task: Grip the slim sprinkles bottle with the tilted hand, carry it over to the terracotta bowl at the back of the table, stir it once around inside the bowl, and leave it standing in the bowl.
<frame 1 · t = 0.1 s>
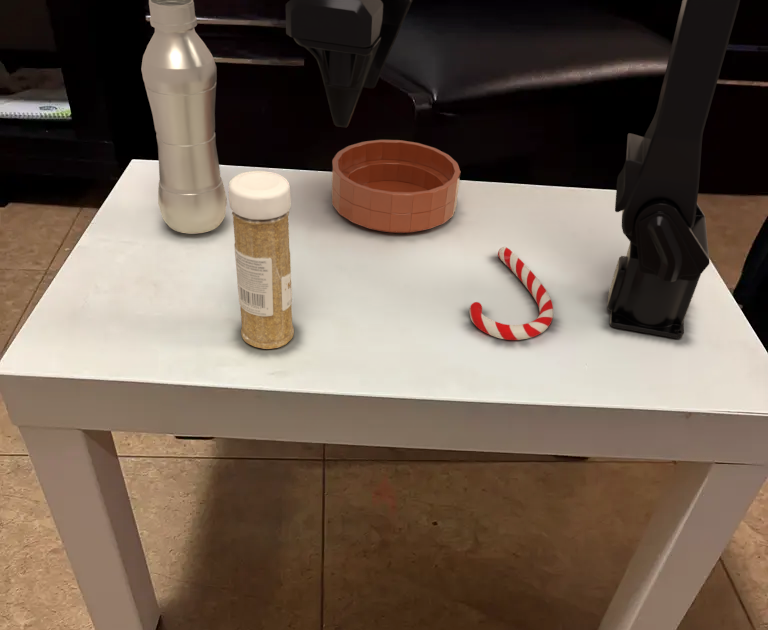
hand: (355, 105, 69), 15 cm above the table, tool pointing down, fingers open, 9 cm apart
candy cane: (505, 298, 77), on the table
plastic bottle: (195, 228, 83), on the table
sprinkles bottle: (267, 337, 71), on the table
bowl: (393, 207, 88), on the table
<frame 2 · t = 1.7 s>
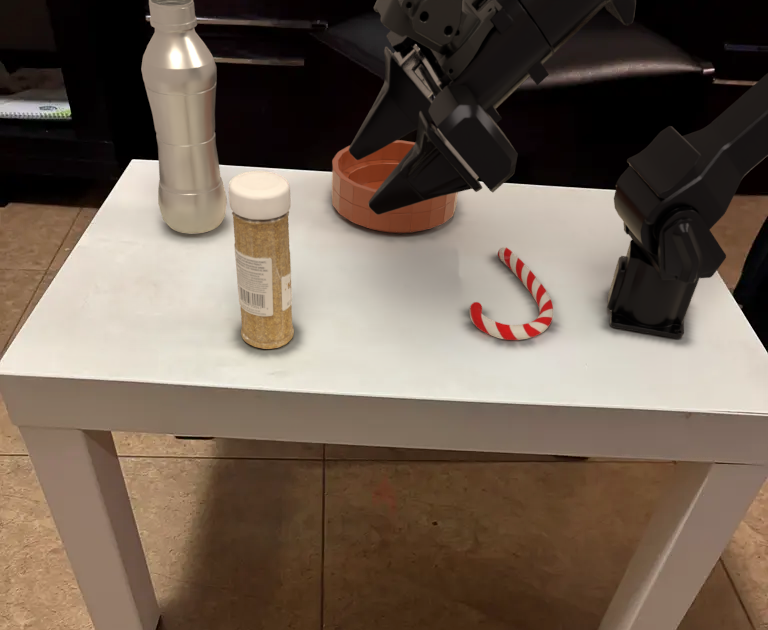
hand: (361, 181, 62), 13 cm above the table, tool tilted 45°, fingers open, 9 cm apart
nothing on the table moved.
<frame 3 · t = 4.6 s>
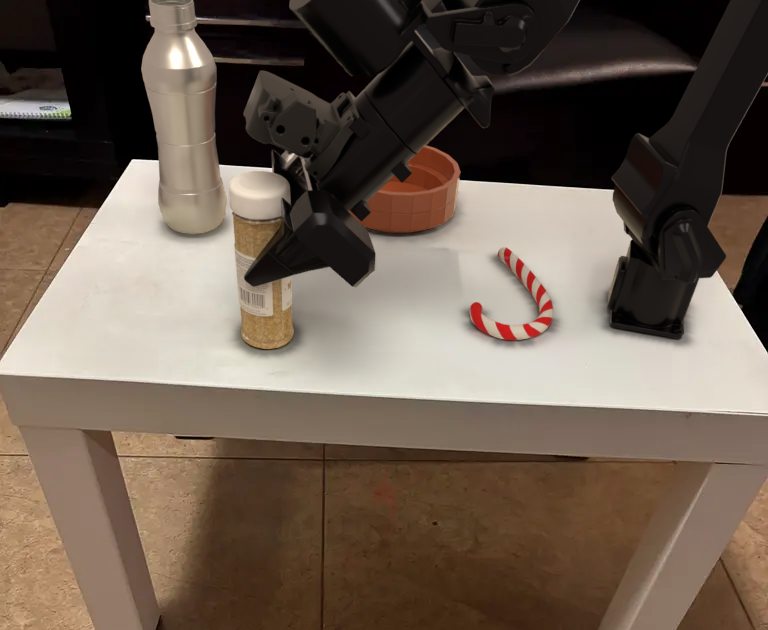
hand: (246, 266, 66), 7 cm above the table, tool tilted 45°, fingers closed on sprinkles bottle, 4 cm apart
sprinkles bottle: (267, 337, 71), on the table, touching gripper
everything else where it was.
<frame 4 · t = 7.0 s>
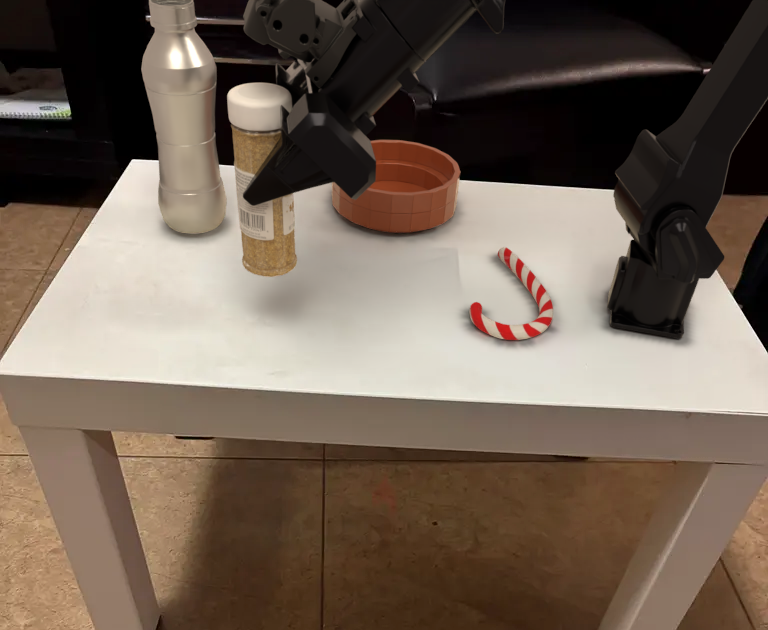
hand: (246, 186, 63), 12 cm above the table, tool tilted 45°, fingers closed on sprinkles bottle, 4 cm apart
sprinkles bottle: (269, 267, 68), point 5 cm above the table, touching gripper
everything else where it was.
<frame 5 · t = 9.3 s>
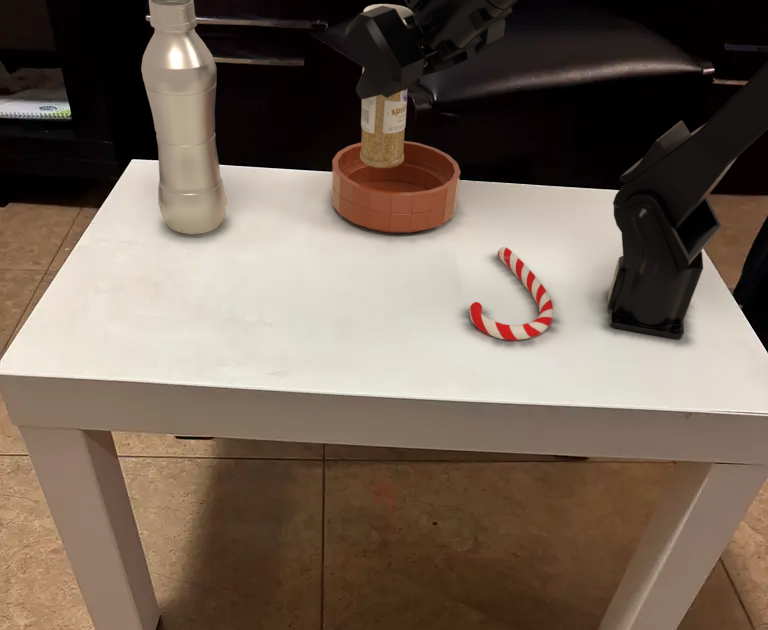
hand: (373, 87, 79), 12 cm above the table, tool tilted 45°, fingers closed on sprinkles bottle, 4 cm apart
sprinkles bottle: (381, 162, 83), point 5 cm above the table, touching gripper
everything else where it was.
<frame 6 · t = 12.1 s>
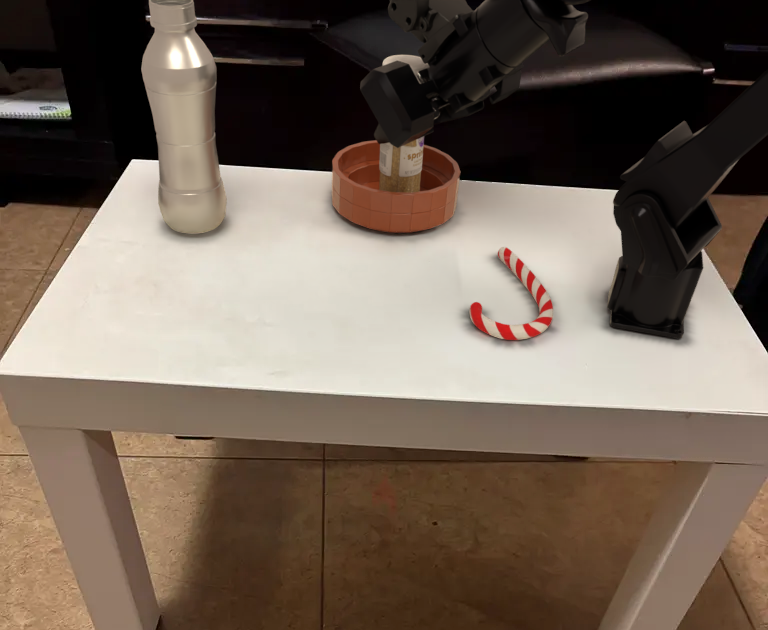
hand: (391, 132, 82), 8 cm above the table, tool tilted 45°, fingers closed on sprinkles bottle, 4 cm apart
sprinkles bottle: (398, 202, 86), point 1 cm above the table, touching gripper
everything else where it was.
when the fingers open (7 cm above the table, at t = 14.2 s): sprinkles bottle stays where it is, resting on bowl.
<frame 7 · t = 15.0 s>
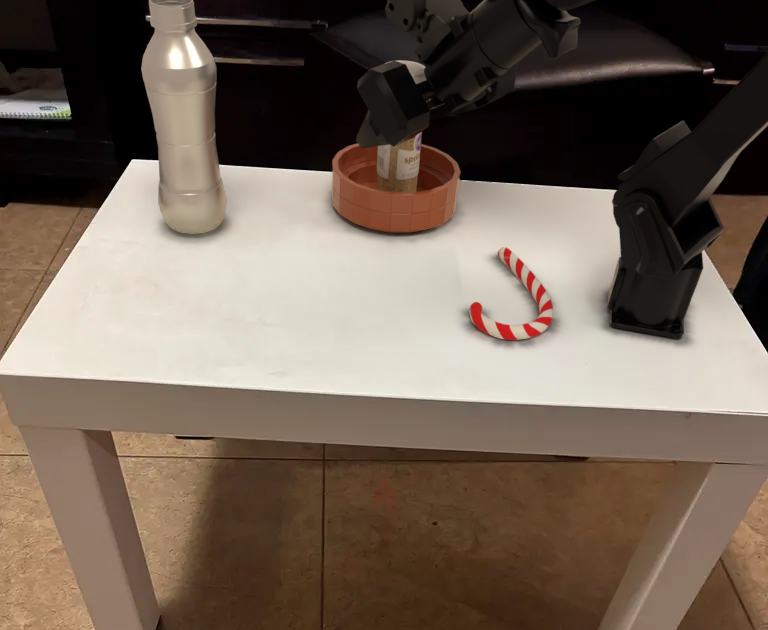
hand: (388, 130, 83), 8 cm above the table, tool tilted 45°, fingers open, 9 cm apart
sprinkles bottle: (395, 204, 88), resting on bowl
everything else where it was.
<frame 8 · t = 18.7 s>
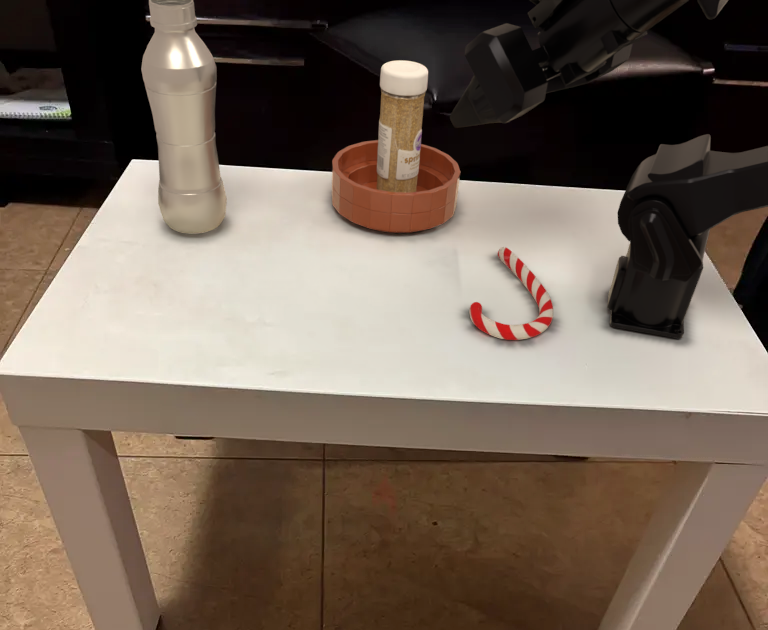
hand: (483, 108, 73), 14 cm above the table, tool tilted 45°, fingers open, 9 cm apart
nothing on the table moved.
at the end: sprinkles bottle inside the target area on the bowl (0.2 cm from its centre), point 0.4 cm above the bowl's base; sprinkles bottle tilted 0°; sprinkles bottle moved 27.4 cm from its start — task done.
